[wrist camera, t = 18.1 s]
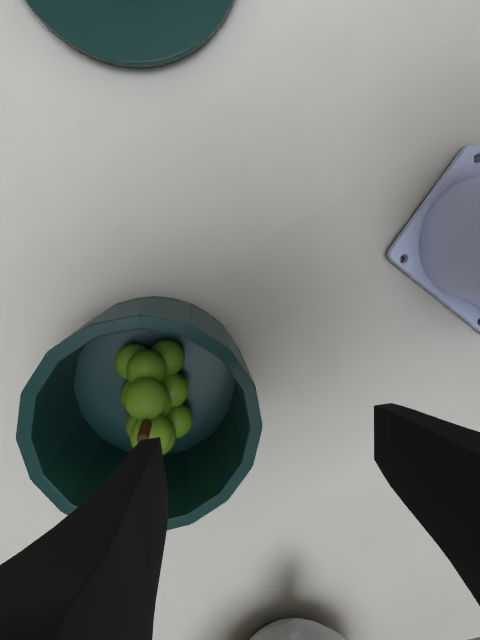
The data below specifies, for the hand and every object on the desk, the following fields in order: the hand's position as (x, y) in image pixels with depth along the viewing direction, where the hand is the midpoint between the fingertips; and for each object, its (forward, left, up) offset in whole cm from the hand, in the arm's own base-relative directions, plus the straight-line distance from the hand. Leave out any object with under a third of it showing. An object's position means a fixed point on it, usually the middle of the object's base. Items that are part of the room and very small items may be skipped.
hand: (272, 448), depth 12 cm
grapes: (+3, +4, -10) cm, 11 cm away
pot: (+3, +4, -10) cm, 12 cm away
